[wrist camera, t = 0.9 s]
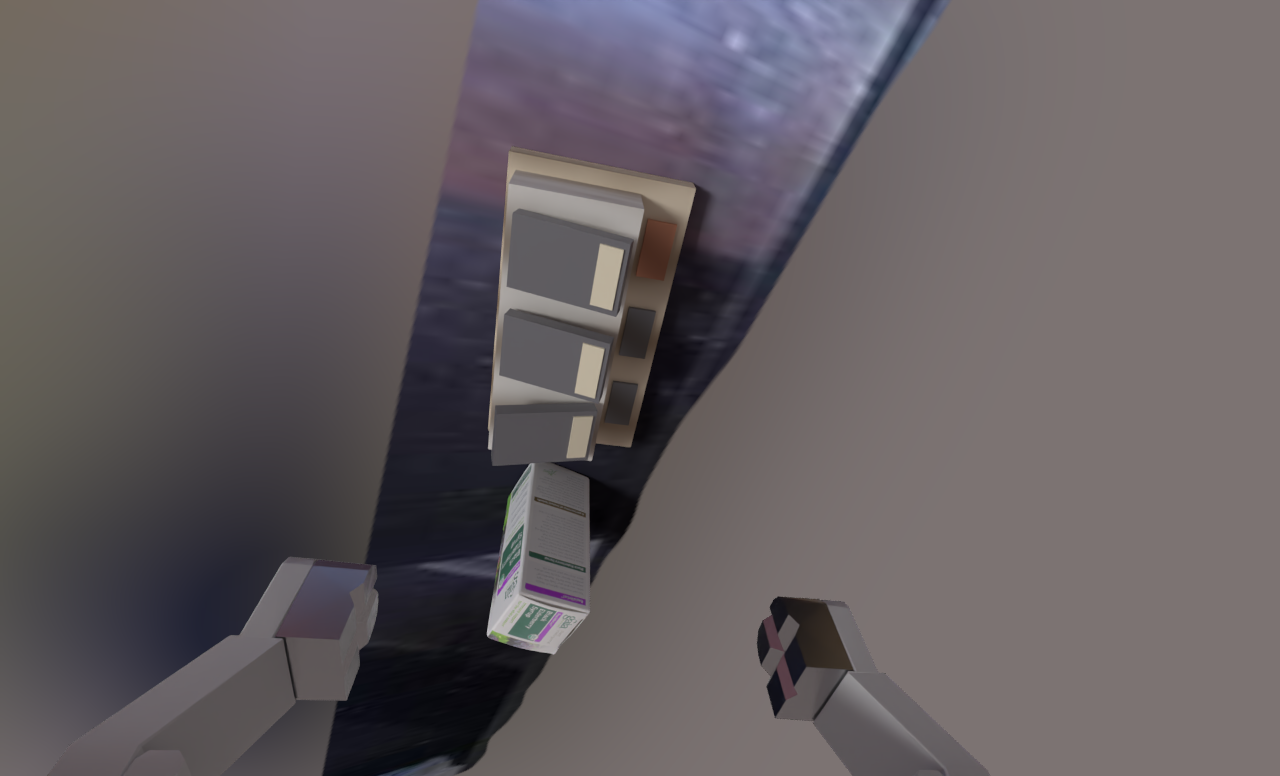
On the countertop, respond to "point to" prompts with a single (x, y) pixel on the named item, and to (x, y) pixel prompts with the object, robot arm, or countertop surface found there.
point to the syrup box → (543, 560)
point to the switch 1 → (568, 262)
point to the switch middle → (554, 355)
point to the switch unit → (658, 231)
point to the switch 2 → (542, 433)
